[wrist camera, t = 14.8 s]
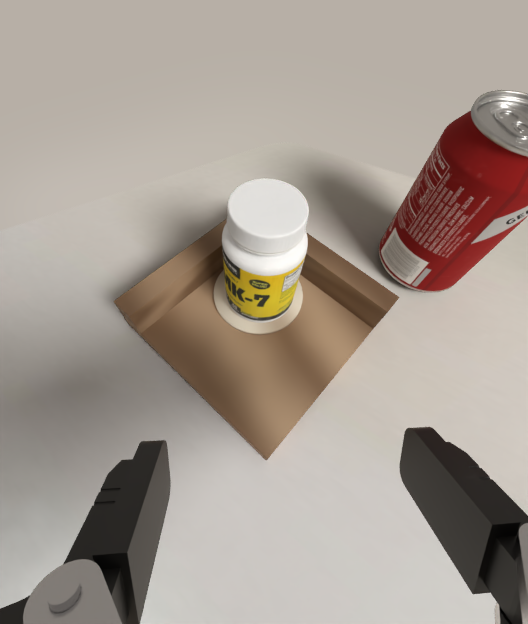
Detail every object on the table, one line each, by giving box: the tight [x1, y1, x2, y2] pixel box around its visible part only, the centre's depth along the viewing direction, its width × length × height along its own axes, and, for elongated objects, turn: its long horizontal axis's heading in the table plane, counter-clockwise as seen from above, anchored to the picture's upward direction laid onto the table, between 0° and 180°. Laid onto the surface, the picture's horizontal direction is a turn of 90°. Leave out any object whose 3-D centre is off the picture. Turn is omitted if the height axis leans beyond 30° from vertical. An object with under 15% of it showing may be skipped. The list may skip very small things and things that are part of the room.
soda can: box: [379, 90, 528, 292], centre depth 21 cm, size 7×7×12 cm
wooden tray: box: [114, 219, 399, 460], centre depth 22 cm, size 13×13×4 cm
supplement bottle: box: [222, 178, 309, 323], centre depth 19 cm, size 5×5×8 cm
